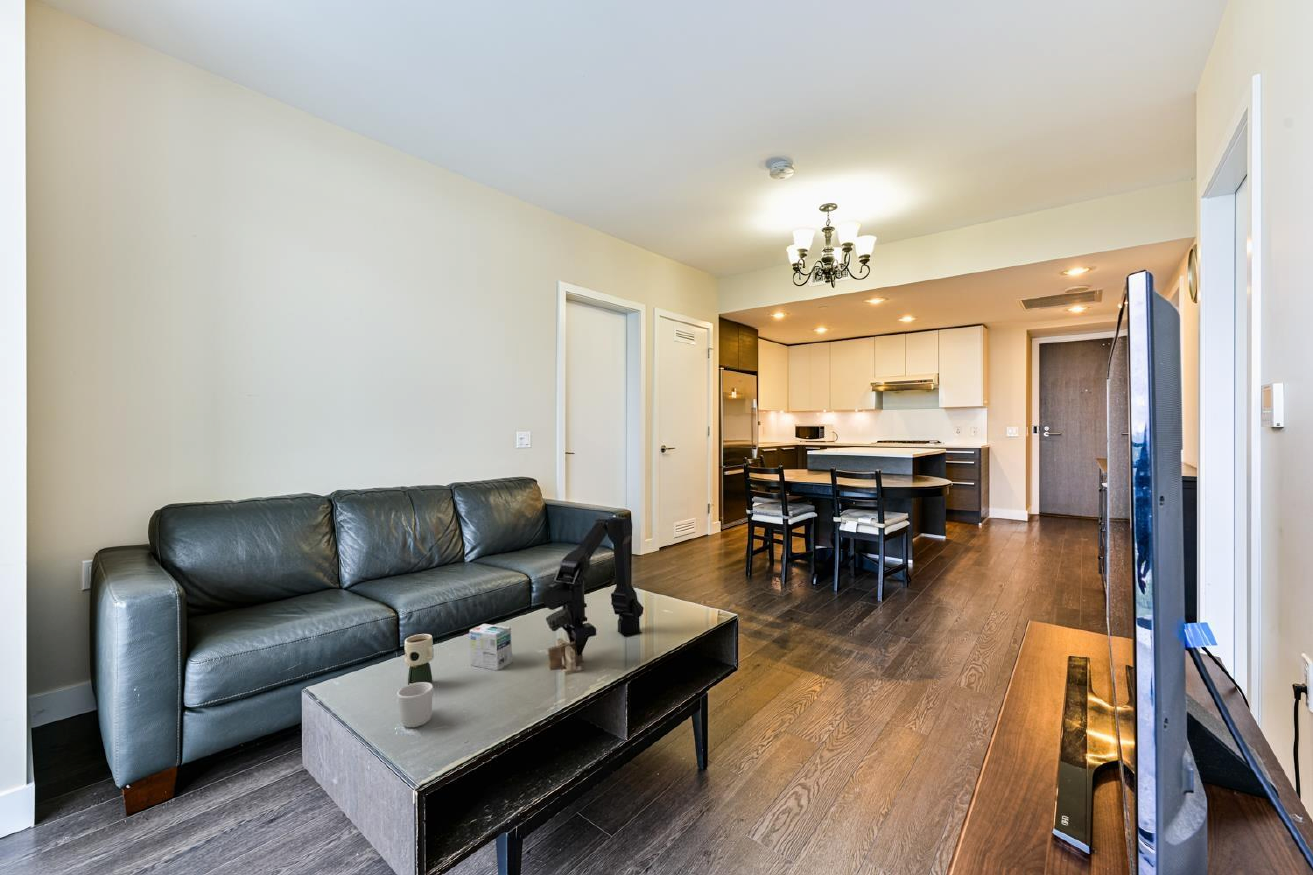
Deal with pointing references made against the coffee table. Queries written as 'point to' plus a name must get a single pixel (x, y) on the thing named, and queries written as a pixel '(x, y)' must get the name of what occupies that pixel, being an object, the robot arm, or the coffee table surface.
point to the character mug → (419, 657)
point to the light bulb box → (490, 646)
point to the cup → (415, 703)
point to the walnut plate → (561, 655)
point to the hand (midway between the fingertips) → (576, 652)
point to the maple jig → (568, 658)
